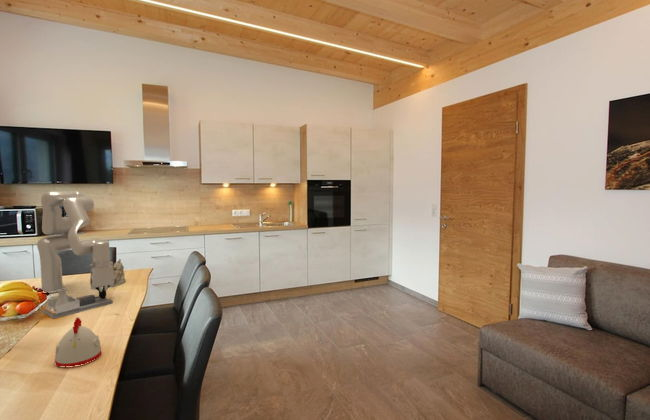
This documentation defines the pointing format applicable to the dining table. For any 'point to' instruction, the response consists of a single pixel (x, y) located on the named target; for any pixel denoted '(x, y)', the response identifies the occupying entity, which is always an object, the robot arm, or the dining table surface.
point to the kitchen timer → (77, 346)
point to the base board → (96, 304)
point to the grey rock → (118, 273)
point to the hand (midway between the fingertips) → (102, 298)
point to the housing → (71, 303)
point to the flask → (61, 298)
